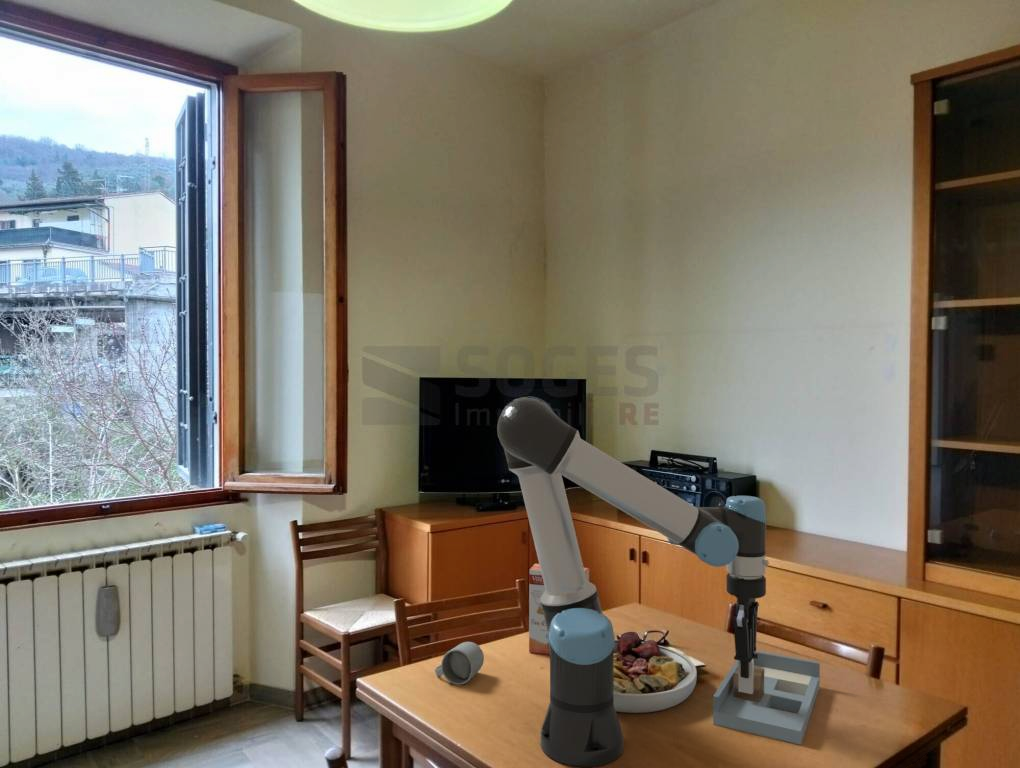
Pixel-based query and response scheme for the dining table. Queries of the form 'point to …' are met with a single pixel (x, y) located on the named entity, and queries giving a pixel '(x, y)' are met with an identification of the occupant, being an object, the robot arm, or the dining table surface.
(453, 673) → the ceramic mug
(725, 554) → the robot arm
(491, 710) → the dining table surface
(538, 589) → the cracker box
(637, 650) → the bowl
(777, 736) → the box
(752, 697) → the block
